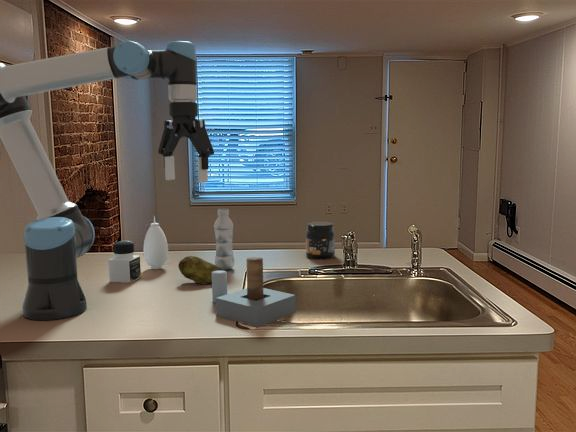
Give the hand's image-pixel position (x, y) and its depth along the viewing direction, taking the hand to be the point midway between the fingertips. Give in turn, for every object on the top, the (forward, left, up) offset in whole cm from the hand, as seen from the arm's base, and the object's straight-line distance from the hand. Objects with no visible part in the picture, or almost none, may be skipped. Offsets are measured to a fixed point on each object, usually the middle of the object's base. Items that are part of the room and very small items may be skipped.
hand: (186, 181), depth 159 cm
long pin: (-2, -27, -32) cm, 42 cm away
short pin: (0, -12, -32) cm, 34 cm away
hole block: (-2, -27, -32) cm, 42 cm away
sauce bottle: (+13, +32, -32) cm, 47 cm away
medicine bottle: (-2, +28, -32) cm, 42 cm away
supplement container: (+61, 0, -32) cm, 69 cm away
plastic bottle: (+26, +13, -32) cm, 43 cm away
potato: (+10, +7, -32) cm, 34 cm away
